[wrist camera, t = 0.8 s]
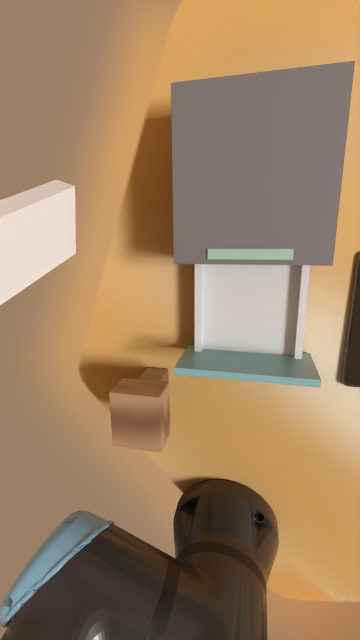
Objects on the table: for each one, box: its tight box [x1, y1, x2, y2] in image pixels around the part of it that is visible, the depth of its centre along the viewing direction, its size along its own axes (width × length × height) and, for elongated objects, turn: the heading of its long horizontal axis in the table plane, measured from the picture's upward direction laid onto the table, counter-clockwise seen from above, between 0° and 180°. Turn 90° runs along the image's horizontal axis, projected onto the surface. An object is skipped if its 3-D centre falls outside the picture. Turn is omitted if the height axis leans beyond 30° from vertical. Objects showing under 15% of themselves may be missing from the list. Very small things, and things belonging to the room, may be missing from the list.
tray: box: [174, 264, 321, 388], centre depth 36 cm, size 16×15×8 cm
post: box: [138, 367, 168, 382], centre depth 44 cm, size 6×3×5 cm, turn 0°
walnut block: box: [109, 378, 170, 452], centre depth 39 cm, size 7×6×4 cm
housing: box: [171, 61, 355, 266], centre depth 33 cm, size 16×15×8 cm
